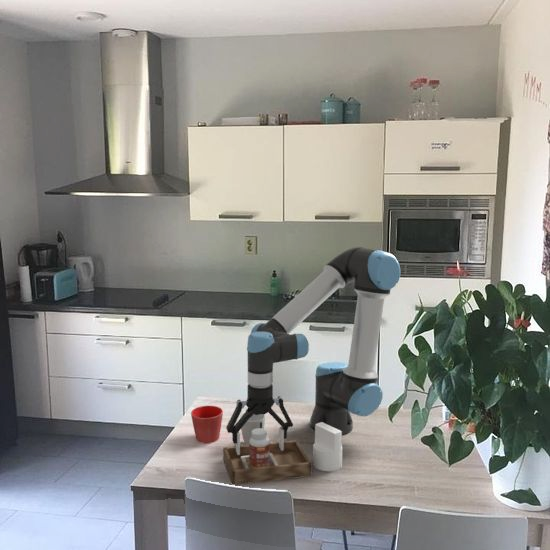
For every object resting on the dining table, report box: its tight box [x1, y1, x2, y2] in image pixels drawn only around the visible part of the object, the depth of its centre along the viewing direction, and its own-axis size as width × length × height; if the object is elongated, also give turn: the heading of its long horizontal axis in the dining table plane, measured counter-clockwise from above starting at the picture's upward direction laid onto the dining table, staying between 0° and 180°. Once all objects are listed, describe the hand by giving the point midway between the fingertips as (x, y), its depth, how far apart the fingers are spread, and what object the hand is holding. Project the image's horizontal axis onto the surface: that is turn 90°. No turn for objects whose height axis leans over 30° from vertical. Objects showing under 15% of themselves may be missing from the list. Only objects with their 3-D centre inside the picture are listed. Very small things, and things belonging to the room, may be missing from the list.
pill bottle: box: [249, 428, 271, 468], centre depth 187 cm, size 6×6×11 cm
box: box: [222, 440, 313, 485], centre depth 188 cm, size 24×16×4 cm, turn 103°
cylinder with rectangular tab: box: [312, 422, 343, 472], centre depth 190 cm, size 9×9×12 cm
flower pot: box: [190, 405, 224, 444], centre depth 207 cm, size 11×11×10 cm
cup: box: [239, 412, 266, 445], centre depth 203 cm, size 8×8×10 cm
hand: (259, 450), depth 187 cm, fingers open, 13 cm apart
